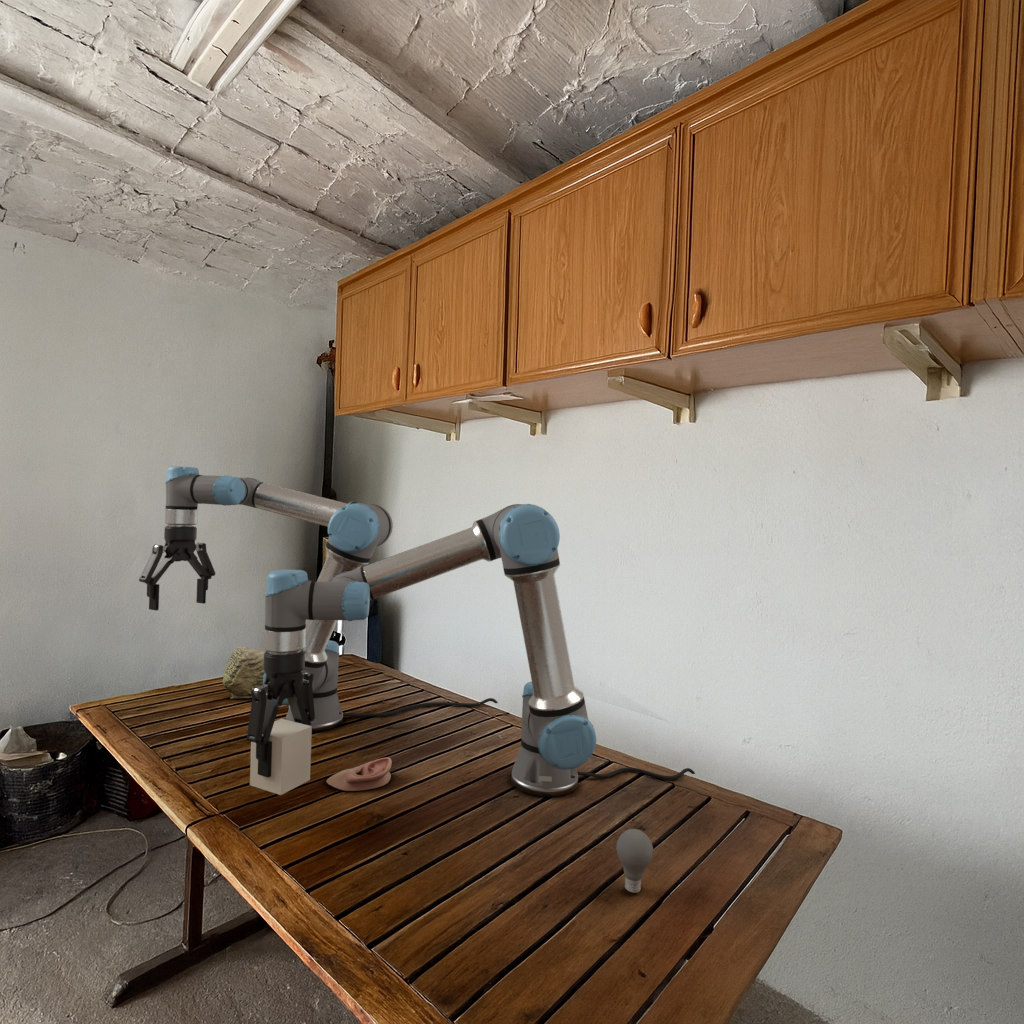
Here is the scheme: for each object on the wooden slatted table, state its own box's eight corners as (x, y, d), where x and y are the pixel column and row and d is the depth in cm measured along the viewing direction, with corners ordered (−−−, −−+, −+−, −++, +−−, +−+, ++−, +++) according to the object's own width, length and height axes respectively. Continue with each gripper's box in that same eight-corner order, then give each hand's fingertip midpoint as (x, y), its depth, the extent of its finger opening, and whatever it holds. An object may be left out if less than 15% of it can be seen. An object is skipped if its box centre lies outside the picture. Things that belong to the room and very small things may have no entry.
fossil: (218, 695, 195) (220, 647, 195) (278, 685, 208) (279, 640, 207) (228, 703, 189) (230, 653, 188) (289, 692, 201) (290, 645, 201)
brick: (280, 770, 128) (281, 718, 128) (310, 780, 125) (311, 726, 124) (249, 785, 121) (251, 730, 121) (280, 795, 118) (282, 738, 118)
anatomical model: (320, 769, 137) (344, 749, 149) (319, 787, 138) (343, 766, 149) (377, 777, 135) (397, 756, 146) (376, 795, 135) (397, 773, 146)
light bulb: (610, 879, 108) (613, 822, 108) (644, 879, 109) (647, 822, 109) (619, 902, 102) (622, 840, 102) (655, 901, 103) (658, 840, 103)
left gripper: (212, 524, 179) (209, 598, 179) (124, 525, 156) (122, 611, 157) (230, 525, 175) (228, 601, 176) (144, 527, 153) (141, 614, 153)
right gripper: (308, 638, 133) (305, 745, 134) (226, 658, 115) (222, 783, 115) (336, 642, 130) (332, 753, 130) (255, 664, 112) (252, 792, 112)
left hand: (178, 606), depth 166 cm, fingers open, 13 cm apart
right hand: (281, 767), depth 123 cm, fingers closed on brick, 8 cm apart
